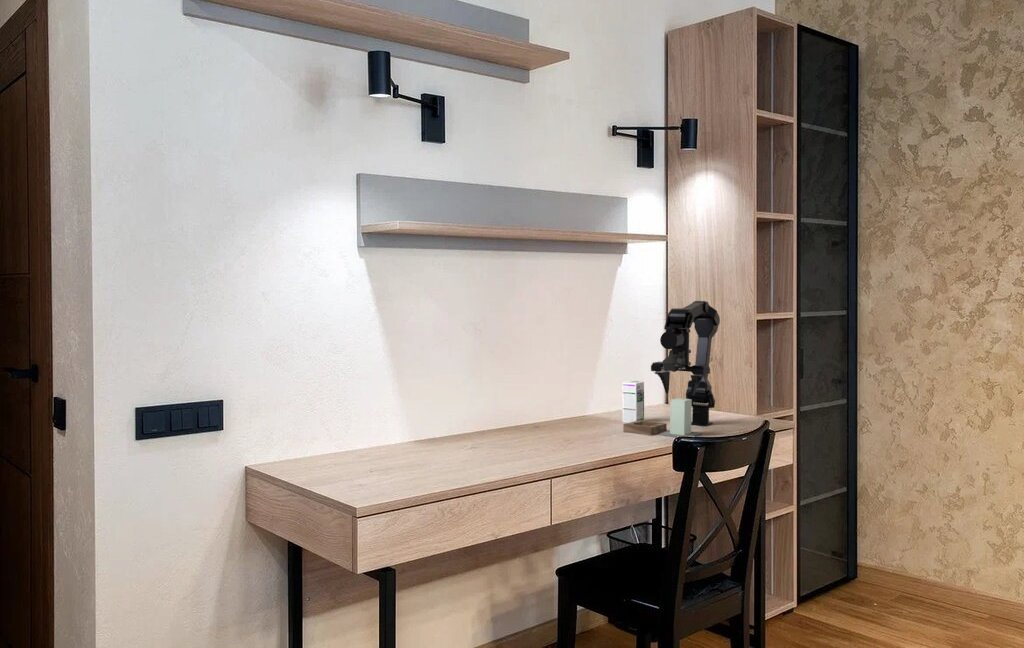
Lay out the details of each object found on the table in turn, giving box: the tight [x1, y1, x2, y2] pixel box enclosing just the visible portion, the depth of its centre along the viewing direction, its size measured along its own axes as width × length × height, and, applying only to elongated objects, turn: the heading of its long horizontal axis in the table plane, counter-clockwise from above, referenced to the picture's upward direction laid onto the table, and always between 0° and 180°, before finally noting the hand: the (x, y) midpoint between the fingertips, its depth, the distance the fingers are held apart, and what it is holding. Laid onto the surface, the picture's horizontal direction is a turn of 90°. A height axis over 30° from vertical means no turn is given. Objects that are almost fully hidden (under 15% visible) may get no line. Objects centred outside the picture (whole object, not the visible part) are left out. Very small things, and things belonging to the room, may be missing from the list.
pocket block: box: [622, 420, 668, 436], centre depth 282 cm, size 10×10×2 cm
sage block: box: [669, 397, 692, 435], centre depth 276 cm, size 5×5×11 cm
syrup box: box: [621, 380, 645, 424], centre depth 299 cm, size 6×6×14 cm
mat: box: [659, 430, 702, 438], centre depth 276 cm, size 10×10×1 cm
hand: (679, 394), depth 279 cm, fingers open, 9 cm apart
